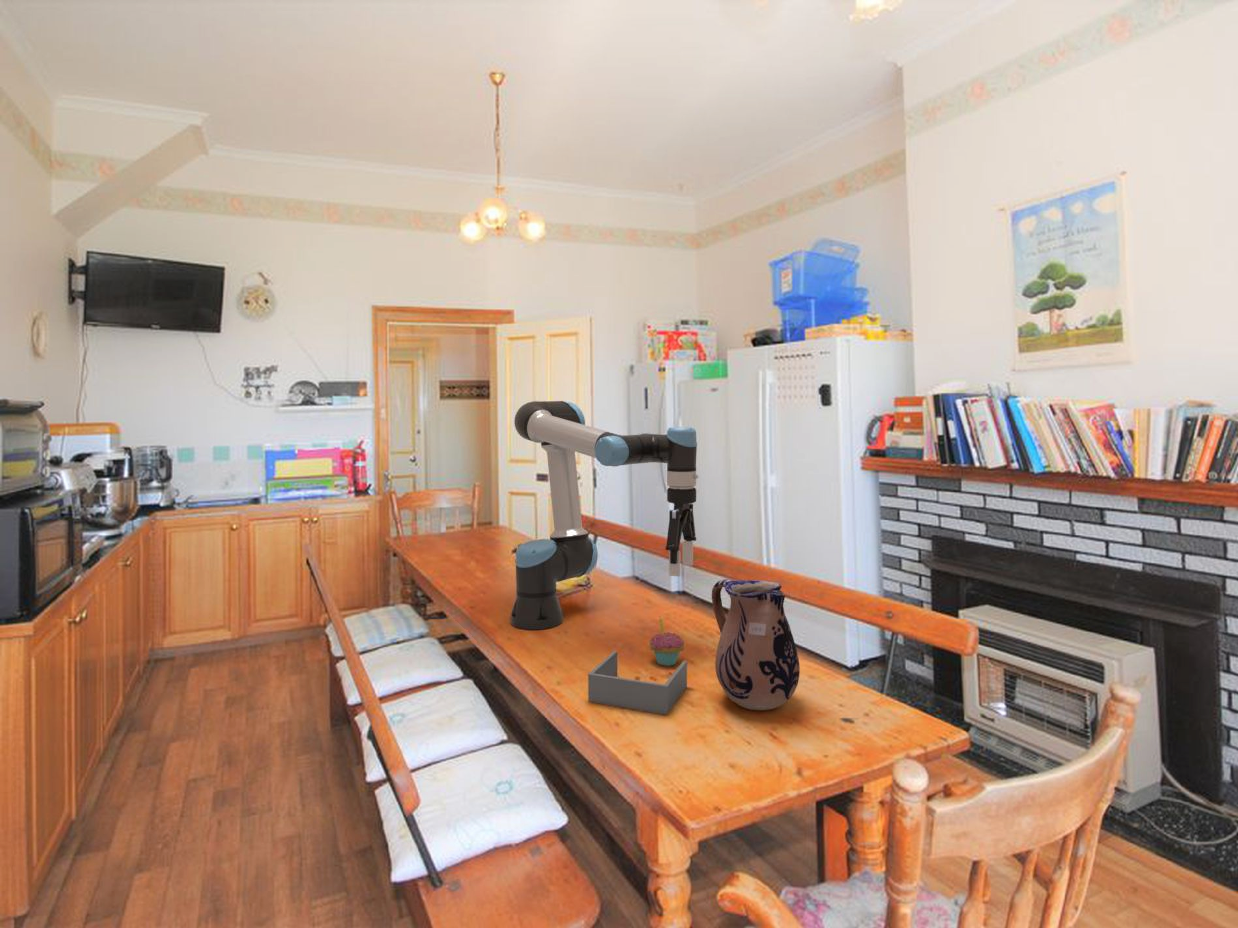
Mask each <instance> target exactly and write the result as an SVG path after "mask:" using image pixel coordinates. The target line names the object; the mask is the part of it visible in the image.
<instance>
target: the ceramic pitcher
mask: <svg viewBox="0 0 1238 928" xmlns="http://www.w3.org/2000/svg"><path fill="white" fill-rule="evenodd" d="M723 588H724V590H725V592H726V594H727V595H728V596H729V598H730V606H729V607H730V608H729V610H728V613H727V616H726V615H725V611H724V608H723V603H722V602H723V601H722V596H721V595H722V594H721V593H722V589H723ZM781 588H782V584H781V583H779V582H776V581H766V580H765V581H764V580H762V579H761V580H757V579H754V580H753V579H749V580H732V579H728V578H723V579H721V580H719V581H717V582H716V583H715V584H714V585H713V586H712V589H711V603H712V609H713V613H714V616H715V620H716V623H717V626H718V629H719V632H720V636H719V640H718V644H717V647H716V653H715V663H714V664H715V673H716V674H715V675H716V677H717V680H718V683H719V685H720V686H721V688H722V690H723V691H724V693H725V694H726V696H727V697H728V698H729V699H730V700H731V701H732V702H733V703H736V704H737V705H738V706H739V707H741V708H743V709H747V710H750V711H769V710H773V709H777V708H779V707H781V706H783V704H785V703H786V702H787V701H789V699H791V698H792V696H793V695H794V693H795V692H796V690H797V687H798V684H799V680H800V669H801V668H800V660H799V654H798V651H797V647H796V643H795V639H794V636H793V633H792V630H791V626H790V624H789V621H788V619H787V616H786V613H785V609H784V608H785V607H784V602H785V598H786V594H785V592H784V591H782V590H781Z"/></svg>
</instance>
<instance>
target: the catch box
mask: <svg viewBox="0 0 1238 928" xmlns="http://www.w3.org/2000/svg"><path fill="white" fill-rule="evenodd" d="M587 684H588V685H587V687H588V688H587V689H588V691H587V693H588V694H587V696H588V700H587V701H588V702H590V703H595V704H602V705H608V706H611V707H612V706H613V707H618V708H624V709H631V710H635V711H636V710H637V711H642V712H648V713H653V714H654V713H655V714H660V715H664V716H665V715H666V716H668V714H669V713H670V711H671V710H672V709H673V707H674V706H675V704H676V703H678V702H677V701H678V700H679V699H680V697H681V696H682V695H683V693H684V692H685V690H687V688H688V661H687V660H683V661H682V662H681V664H679V666H678V667H677V668H676V669H675V671H674V672H673V673H672V675H670V677H668V680H667V681H666V682H665V683H656V682H653V681H651V682H650V681H647V680H646V681H645V680H639V679H631V678H625V677H620V676H619V677H618V651H617V650H613V651H612V652H611V653H610V654H609V655H608V656H606V658H605V659H604V660H602V661H601V662H600V663H599V664H598V665H597V666H595V668H593V669H592V670H591V671H590V672H589V673H588V674H587Z"/></svg>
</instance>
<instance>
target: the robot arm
mask: <svg viewBox="0 0 1238 928" xmlns="http://www.w3.org/2000/svg"><path fill="white" fill-rule="evenodd" d="M585 419H586V418H585V416H584V413H583V410H581V408H580V407H579V406H578V405H577V404H576V403H574V402H571V401H565V400H564V401H563V400H556V401H555V400H553V401H552V400H551V401H550V400H548V401H539V400H534V401H529V402H526V403H524V404H523V405H521V406H520V407H519V408H518V409H517V411H516V414H515V417H514V420H513V421H514V427H515V430H516V432H517V434H518V435H519V436H520V437H521V438H523V439H525V440H527V441H531V442H534V443H537V444H540V445H541V448H542V450H544V451H545V452H546V457H547V459H546V460H547V467H548V477H549V479H548V480H549V488H550V498H551V499H550V500H551V509H552V519H553V521H552V522H553V531H552V533H551V534H550V535H549V539H548V538H547V539H546V538H542V539H541V538H540V539H532V540H529V541H526V542H523V543H521V544H520V545H519V546H518V547H517V548H516V552H515V561H514V565H515V583H516V584H515V585H516V587H515V588H516V589H515V590H516V597H515V600H514V604H513V606H512V610H511V614H510V624H511V625H512V626H513V627H515V628H518V629H523V630H545V629H551V628H555V627H557V626H559V625H561V624H562V623H563V620H564V617H563V616H564V615H563V610H562V607H561V605H560V601H559V598H558V596H557V583H558V582H559V583H560V582H562V581H567V580H571V579H575V578H577V579H578V578H581V577H582V576H585V575H588V574H589V573H591V572H592V571H593V570H594V568H595V567H596V565H597V563H598V558H599V555H598V551H599V550H598V548H597V545H596V543H595V540H593V539H592V538H591V537H589V532H588V531H587V530H586V529H585V528H584V527H583V523H582V522H583V521H582V511H581V510H582V509H581V501H580V491H579V481H578V480H579V479H578V470H577V461H576V453H579V454H582V455H585V456H588V457H591V458H594V459H596V460H597V461H598V462H599V463H600V465H602V466H604V467H620V466H627V465H635V464H636V465H638V464H648V463H650V464H651V463H661V464H662V463H663V464H666V467H667V468H666V486H668V487H667V489H666V500H667V501H666V502H668V503H669V504H673V509H670V510H669V513H668V514H669V517H668V521H669V522H668V528H667V537H666V545H665V551H668V575H669V577H681V565H682V566H689V567H690V566H691V567H692V566H694V542H697V537H696V527H695V518H694V517H695V516H694V503H696V502H697V488H696V486H697V479H698V478H699V475H698V474H697V451H698V450H697V449H698V447H697V446H698V442H697V431H696V429H695V428H694V427H690V426H685V427H684V426H683V427H682V426H677V427H676V426H675V427H668V428H667V431H666V432H667V433H666V434H657V433H656V434H654V433H650V432H647V433H638V434H628V435H623V434H622V435H621V434H616V433H613V432H610V431H607V430H604V429H599V428H596V427H592V426H589V425H586V420H585ZM682 537H683V540H682ZM681 540H682V559H681V550H680V546H681ZM681 561H682V564H681Z"/></svg>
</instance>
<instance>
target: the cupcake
mask: <svg viewBox="0 0 1238 928" xmlns="http://www.w3.org/2000/svg"><path fill="white" fill-rule="evenodd" d="M658 620H659V621H658V622H659V628H660V633H658V634H655V635H653V637H652V638H650V640H649V648H650V650H651V651H653V653H654V656H655V659H656V662H657V664H659V665H660V666H664V667H665V666H667V667H668V666H674V665H675V664H677V662H678V658H679V655H680V653H681V652H683V651H684V650H685V642H684V640H683V638H682V637H681V636H679V635H678V634H676V633H675V632H673V633H672V632H664V626H663V625H664V624H663V619H662V618H661V616H660V615H659V619H658Z"/></svg>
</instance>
